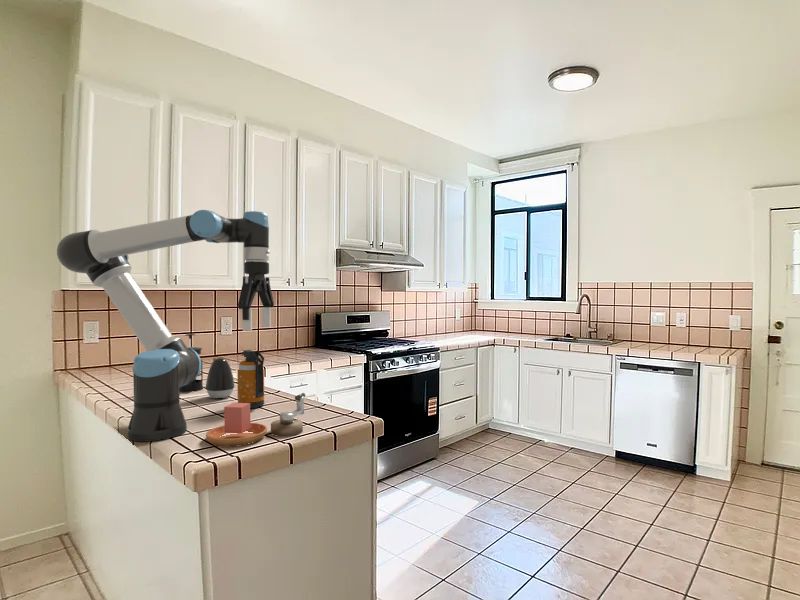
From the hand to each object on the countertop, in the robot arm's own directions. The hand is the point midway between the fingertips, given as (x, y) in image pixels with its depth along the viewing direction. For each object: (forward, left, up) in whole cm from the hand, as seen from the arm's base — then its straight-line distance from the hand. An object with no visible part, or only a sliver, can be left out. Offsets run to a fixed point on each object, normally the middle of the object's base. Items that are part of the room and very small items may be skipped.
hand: (257, 329), depth 149 cm
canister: (-9, +15, -29) cm, 34 cm away
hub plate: (+14, -11, -29) cm, 34 cm away
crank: (+15, -7, -26) cm, 31 cm away
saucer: (+3, -19, -30) cm, 35 cm away
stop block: (+3, -19, -26) cm, 33 cm away
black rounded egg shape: (-28, +27, -29) cm, 48 cm away
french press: (-47, +38, -29) cm, 67 cm away
